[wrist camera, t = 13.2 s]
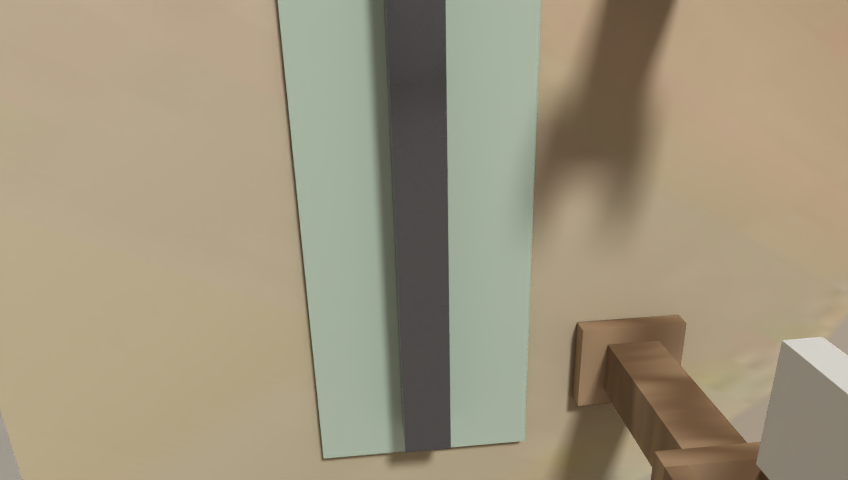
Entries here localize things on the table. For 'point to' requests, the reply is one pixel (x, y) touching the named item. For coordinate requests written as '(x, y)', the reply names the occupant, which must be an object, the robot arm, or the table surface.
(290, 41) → the mat
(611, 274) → the table surface
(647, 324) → the hook stand
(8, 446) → the robot arm
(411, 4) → the rail
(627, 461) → the table surface
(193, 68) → the table surface
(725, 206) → the table surface
